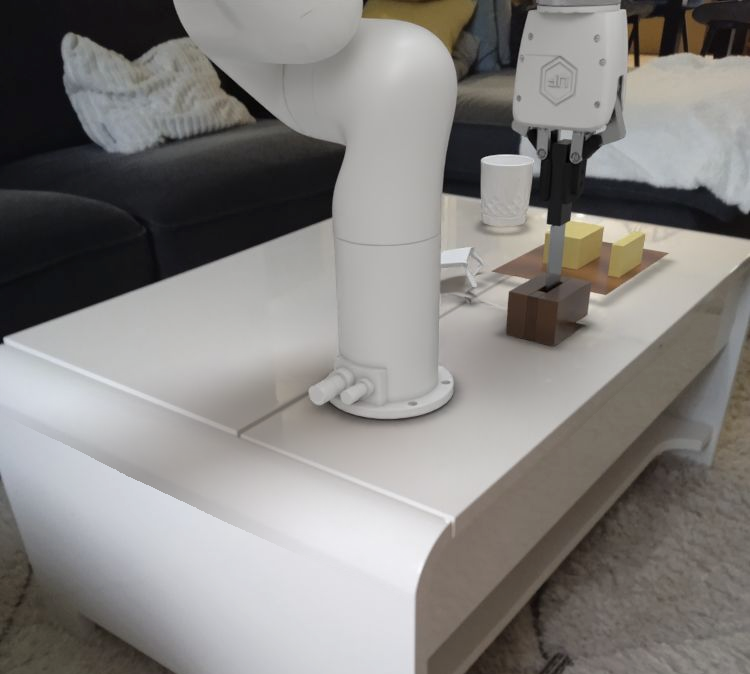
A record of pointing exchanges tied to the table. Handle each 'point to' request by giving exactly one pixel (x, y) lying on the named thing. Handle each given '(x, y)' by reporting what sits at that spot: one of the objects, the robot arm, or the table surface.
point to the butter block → (578, 244)
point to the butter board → (592, 271)
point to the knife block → (547, 309)
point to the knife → (557, 213)
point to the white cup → (505, 189)
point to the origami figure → (461, 263)
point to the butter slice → (626, 254)
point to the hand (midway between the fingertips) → (560, 198)
